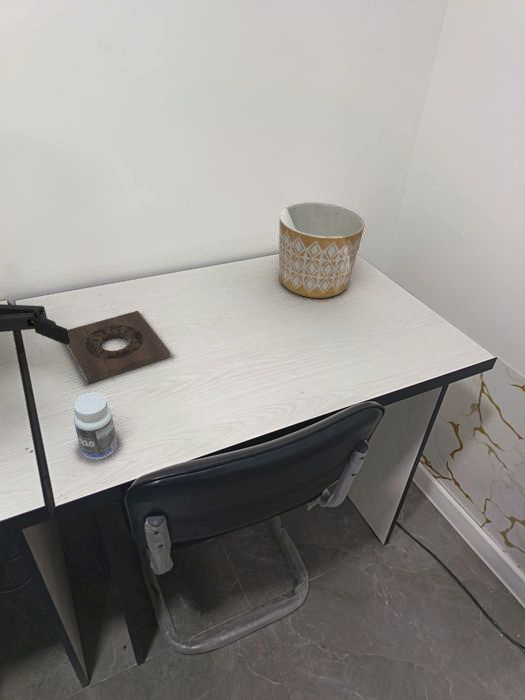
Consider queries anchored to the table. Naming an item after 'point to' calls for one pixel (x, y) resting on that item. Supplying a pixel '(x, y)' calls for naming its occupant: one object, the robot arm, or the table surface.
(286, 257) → the planter
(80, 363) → the socket plate
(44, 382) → the table surface
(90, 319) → the table surface
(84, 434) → the pill bottle
